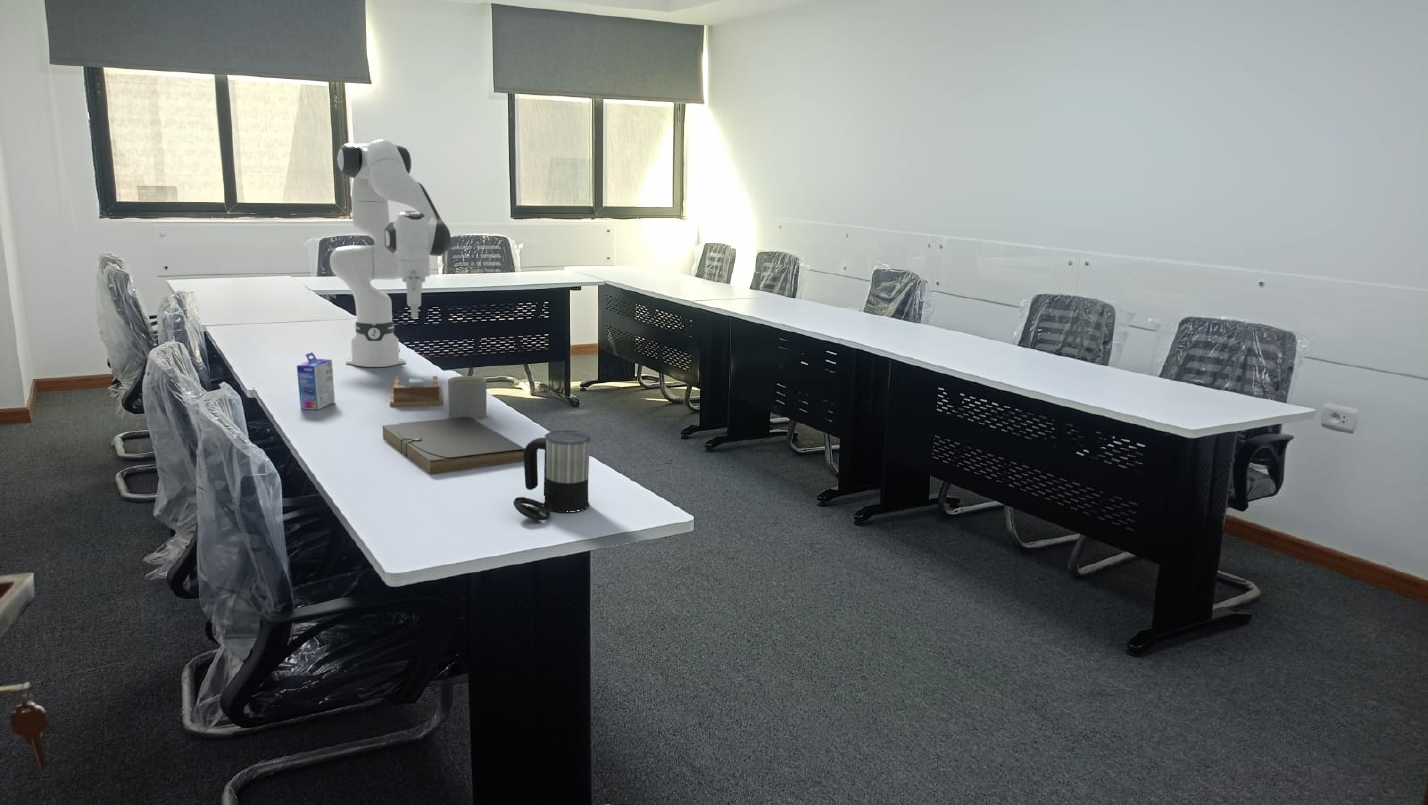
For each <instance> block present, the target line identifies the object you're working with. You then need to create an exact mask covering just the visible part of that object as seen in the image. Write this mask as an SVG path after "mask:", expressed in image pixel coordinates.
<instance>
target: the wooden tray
mask: <svg viewBox="0 0 1428 805" xmlns="http://www.w3.org/2000/svg"><path fill="white" fill-rule="evenodd" d="M432 383H433V384H431V383H430V384H427V383H425V384H423V387H409V384H400V376H394V383H393V384H391V390H390V399H389V407H419V406H420V407H424V406H432V407H433V406H443V404H444V402H443V393H442V384H440V383H439V381H438V375H432Z"/></svg>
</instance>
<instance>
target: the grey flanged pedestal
mask: <svg viewBox="0 0 1428 805" xmlns="http://www.w3.org/2000/svg"><path fill="white" fill-rule="evenodd" d="M408 379H409V380H408V385H409V387H423V385H424V380H423V378H408Z"/></svg>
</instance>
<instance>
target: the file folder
mask: <svg viewBox="0 0 1428 805" xmlns="http://www.w3.org/2000/svg"><path fill="white" fill-rule="evenodd" d="M381 427H382V439H383V440H385V441H386V442H387V443H389V444H390V445H392V446H393V447H394V448H395V449H397V451H399V452H400V455H401V454H402V453H404V454H405V458H406V457H409V459H411V460H413V461H415V462H416V463H418V464H419V465H421V466H422V467H423V468H424V469H425V471H426V472H428V473H429V475H436V474H441V473H442V474H443V473H451V472H457V471H465V470H472V469H477V468H483V467H491V466H497V465H505V464H512V463H519V462H524V450H525V447H523V446H521V445H519V444H518V443H516V442H514V441H512V440H511V439H509V438H507V437H506V436H504V435H502V434H500V433H499V432H497V431H495V430H494V429H492V428H490V427H488V426H487V425H485V424H483V423H481V422H480V421H478V420H475V419H473V418H471V417H461V418H443V419H430V420H421V421H420V420H419V421H407V422H400V423H395V424H385V425H384V424H383V425H381ZM518 461H519V462H518Z"/></svg>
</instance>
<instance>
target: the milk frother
mask: <svg viewBox="0 0 1428 805" xmlns="http://www.w3.org/2000/svg"><path fill="white" fill-rule="evenodd" d="M591 440H592V435H591V434H589V433H588V432H586V431H585V432H584V431H580V430H573V429H572V430H571V429H563V430H559V429H558V430H553V431H549V432H547V433H545V435H544V437H538V438H534V439H533V440H531V441H529V443H527V444H526V446H525V447H524V448H525V450H524V461H523V468H524V469H523V471H524V481H525V488H526V490H529V491H532V490H534V489H536V488H537V487H538V484H539V477H538V476H539V475H538V473H539V472H538V450H544V468H543V470H544V472H543V474H544V475H543V496H544V501H543V502H541V501H538V500H536V499H532V498H528V497H525V496H521V497H515V498H514V500H513V506H514V509H516V510H517V511H518V512H519V513H520V514H521V515H522V516H524V517H526V518H528V519H531V521H532V522H534V521H546V520H548V519H549V518H550V515H551V512H555V511H559V512H558V513H562V512H567V511H568V512H570V511H577V510H582V509H584V508H586V507H588V508H589V507H590V502H589V474H590V473H589V470H590V441H591ZM548 509H549V510H548ZM551 510H552V511H551ZM548 517H549V518H548ZM547 518H548V519H547ZM533 520H534V521H533Z"/></svg>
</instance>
